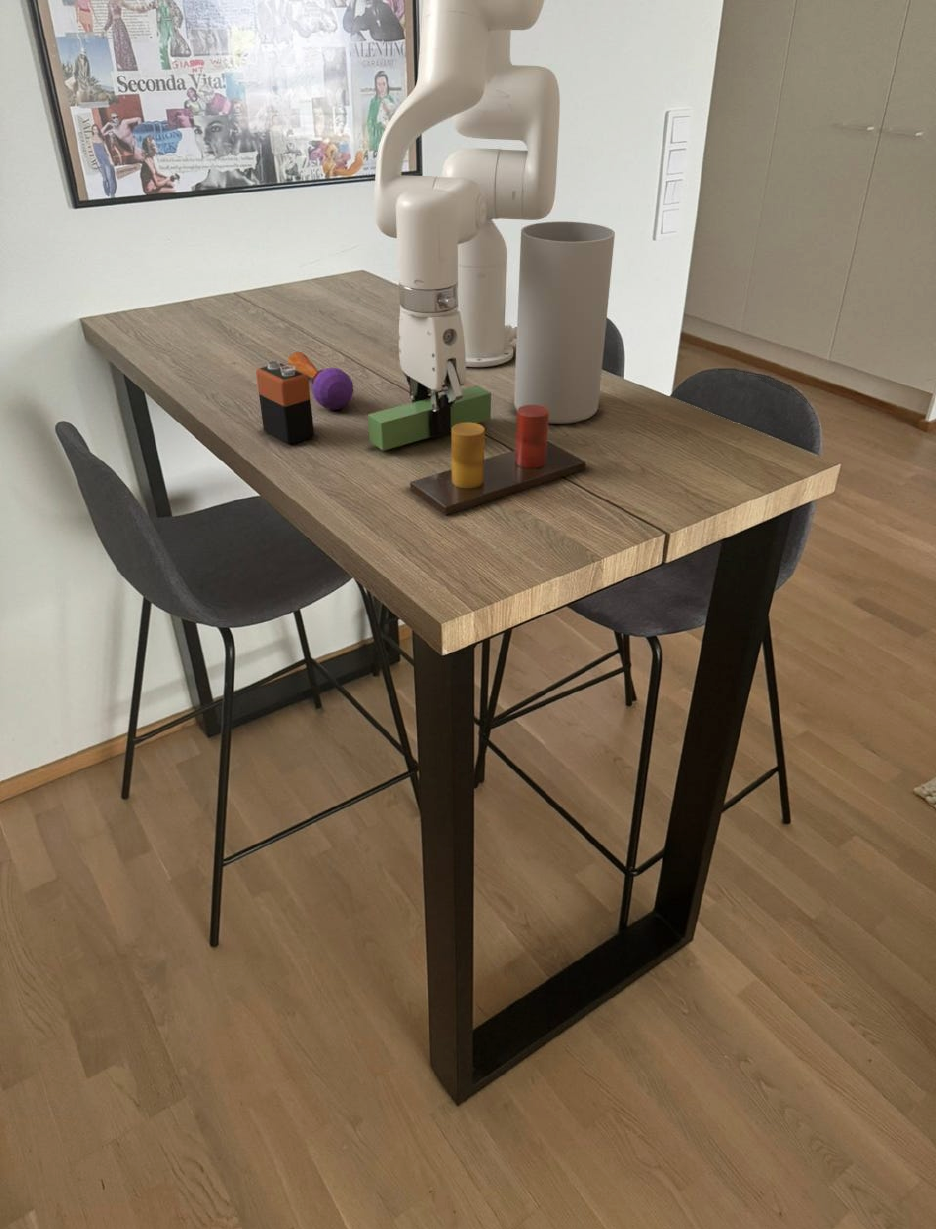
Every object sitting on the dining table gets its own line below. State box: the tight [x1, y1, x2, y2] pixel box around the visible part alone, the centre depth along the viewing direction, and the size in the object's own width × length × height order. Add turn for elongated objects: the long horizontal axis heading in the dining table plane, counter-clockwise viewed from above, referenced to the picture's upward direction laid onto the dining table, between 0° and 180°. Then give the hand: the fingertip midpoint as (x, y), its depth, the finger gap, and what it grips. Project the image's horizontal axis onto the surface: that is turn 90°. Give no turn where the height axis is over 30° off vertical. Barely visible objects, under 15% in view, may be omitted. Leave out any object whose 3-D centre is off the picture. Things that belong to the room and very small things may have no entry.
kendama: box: [287, 351, 354, 411], centre depth 137 cm, size 6×6×20 cm
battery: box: [255, 360, 315, 445], centre depth 123 cm, size 4×7×10 cm, turn 43°
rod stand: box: [409, 405, 586, 516], centre depth 112 cm, size 22×8×8 cm, turn 125°
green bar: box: [367, 385, 492, 452], centre depth 124 cm, size 18×4×4 cm, turn 125°
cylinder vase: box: [513, 220, 616, 425], centre depth 127 cm, size 12×12×25 cm
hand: (431, 428), depth 125 cm, fingers closed on green bar, 3 cm apart
